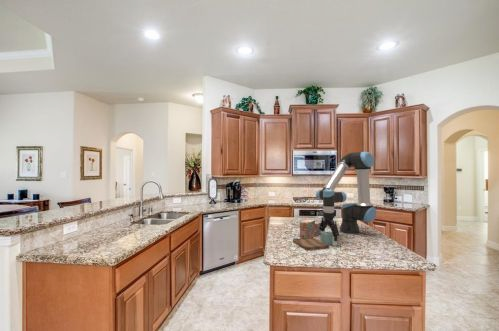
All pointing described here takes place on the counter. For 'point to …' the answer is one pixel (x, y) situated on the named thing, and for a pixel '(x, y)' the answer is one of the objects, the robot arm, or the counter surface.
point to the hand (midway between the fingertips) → (328, 242)
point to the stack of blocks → (309, 228)
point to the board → (310, 243)
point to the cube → (327, 238)
